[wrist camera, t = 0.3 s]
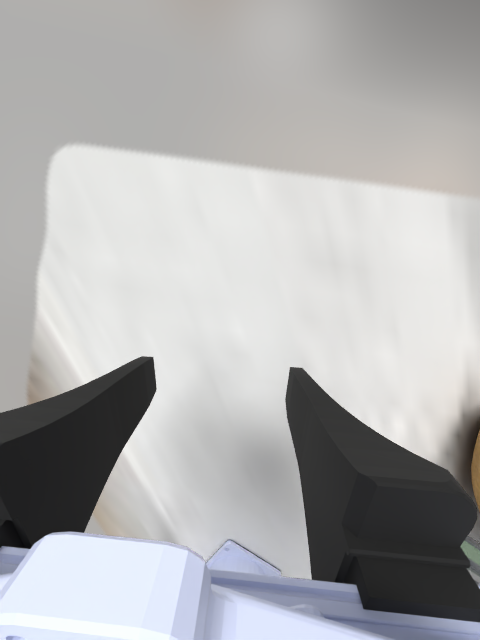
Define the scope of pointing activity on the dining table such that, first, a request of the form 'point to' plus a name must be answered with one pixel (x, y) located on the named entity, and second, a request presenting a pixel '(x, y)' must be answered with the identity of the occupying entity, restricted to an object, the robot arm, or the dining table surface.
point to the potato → (476, 471)
